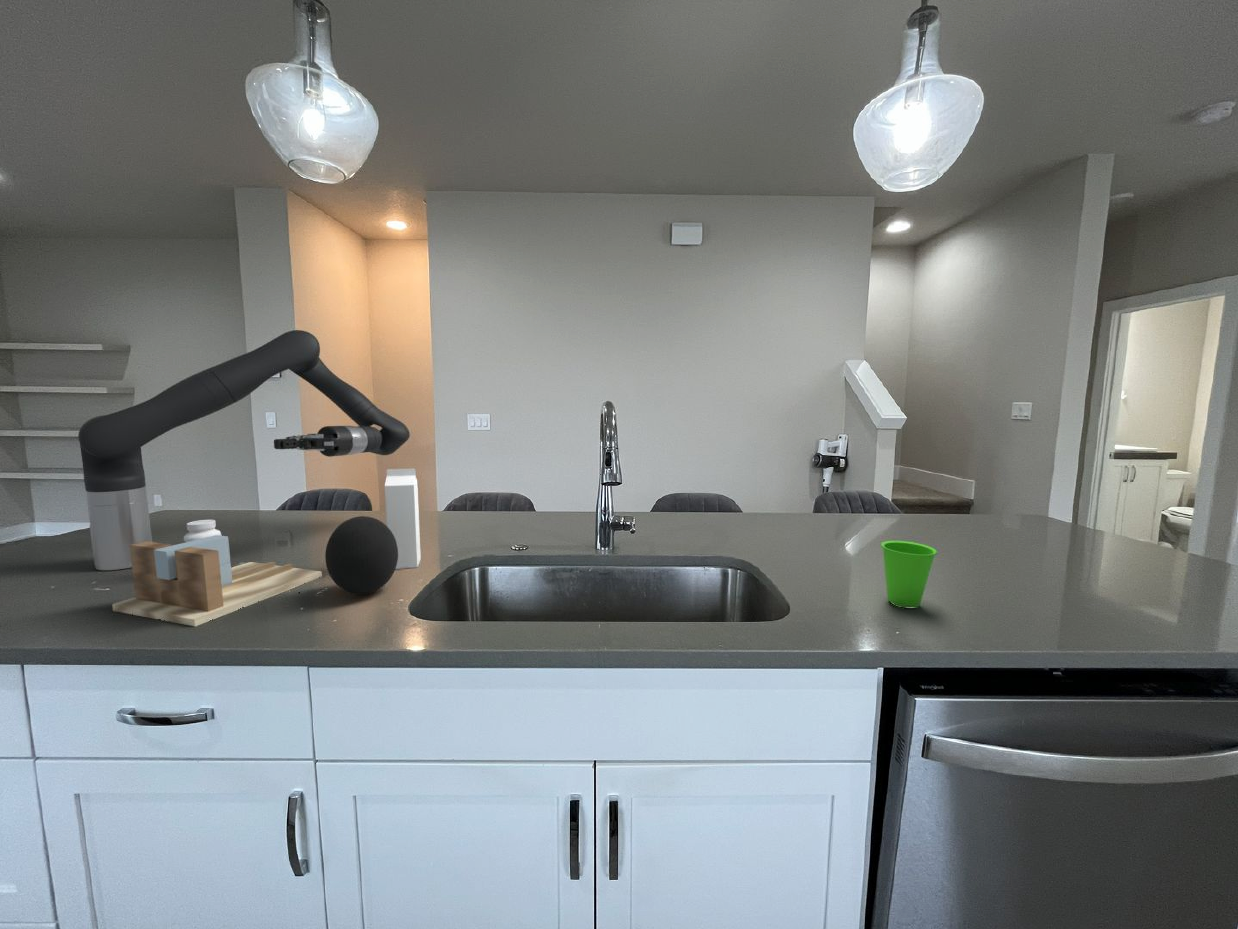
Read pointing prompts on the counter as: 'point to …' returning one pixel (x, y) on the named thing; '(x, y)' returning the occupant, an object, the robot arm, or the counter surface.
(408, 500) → the milk
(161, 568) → the sliding plate
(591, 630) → the counter surface
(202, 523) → the pill bottle
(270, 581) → the jig
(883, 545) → the cup
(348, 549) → the decorative egg
